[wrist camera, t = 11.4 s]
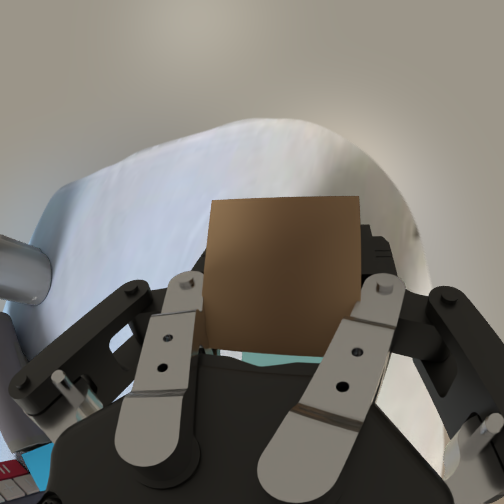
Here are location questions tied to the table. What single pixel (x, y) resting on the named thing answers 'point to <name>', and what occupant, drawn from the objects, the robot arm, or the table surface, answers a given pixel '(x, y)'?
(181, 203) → the table surface
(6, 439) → the bluetooth speaker
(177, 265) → the table surface
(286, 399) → the robot arm
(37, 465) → the blue rectangular block
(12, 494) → the color panel box
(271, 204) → the walnut brick
